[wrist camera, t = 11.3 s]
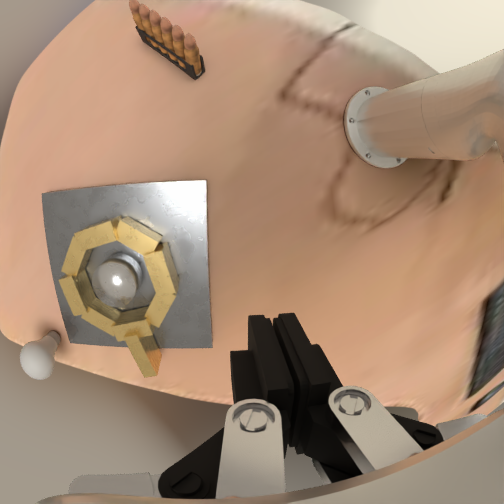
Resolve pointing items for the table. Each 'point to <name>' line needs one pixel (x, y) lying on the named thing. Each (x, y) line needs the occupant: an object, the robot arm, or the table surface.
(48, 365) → the lightbulb
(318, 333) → the table surface
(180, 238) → the housing
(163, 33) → the ammunition clip
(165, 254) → the ring nut
